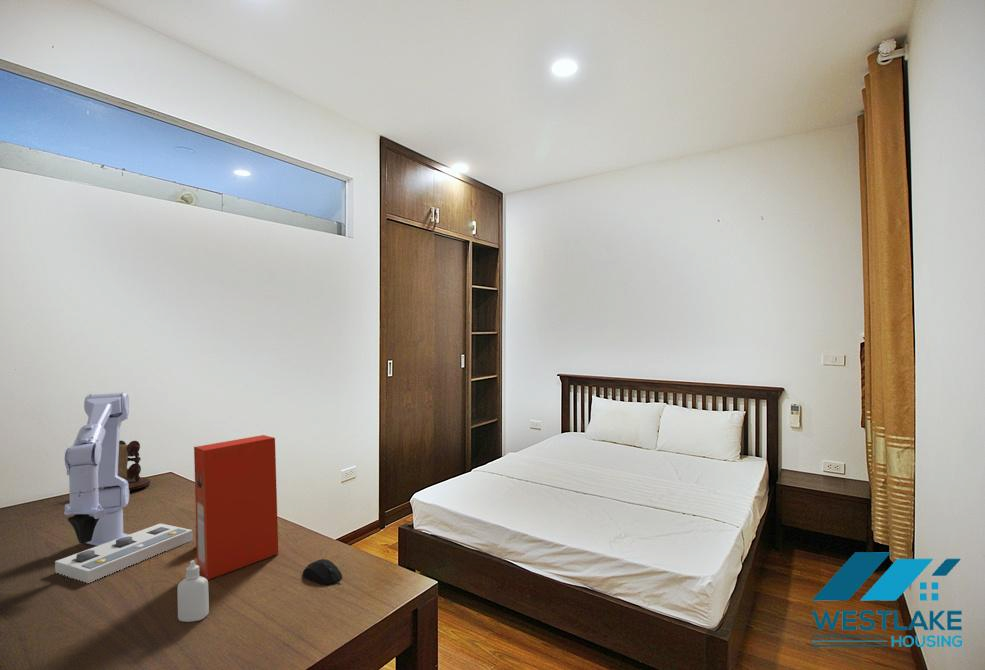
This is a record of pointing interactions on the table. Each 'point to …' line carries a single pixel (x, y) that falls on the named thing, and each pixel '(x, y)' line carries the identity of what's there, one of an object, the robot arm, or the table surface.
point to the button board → (123, 553)
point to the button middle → (123, 542)
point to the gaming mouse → (323, 573)
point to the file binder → (235, 504)
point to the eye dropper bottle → (193, 595)
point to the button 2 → (157, 531)
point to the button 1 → (85, 556)
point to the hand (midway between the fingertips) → (85, 541)
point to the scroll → (134, 470)
